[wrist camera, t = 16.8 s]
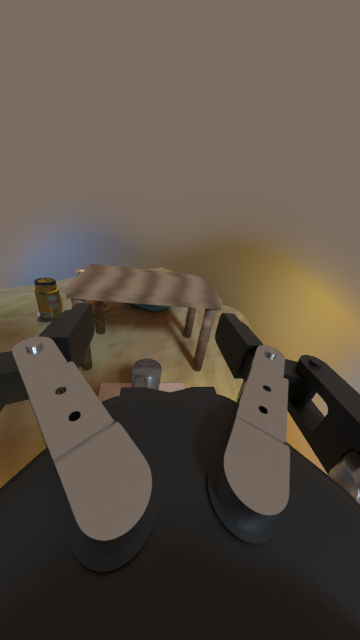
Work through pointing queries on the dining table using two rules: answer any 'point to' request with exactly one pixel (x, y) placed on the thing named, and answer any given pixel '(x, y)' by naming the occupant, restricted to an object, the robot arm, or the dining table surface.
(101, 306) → the low stand
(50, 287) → the condiment
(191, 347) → the dining table surface
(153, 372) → the metal canister
